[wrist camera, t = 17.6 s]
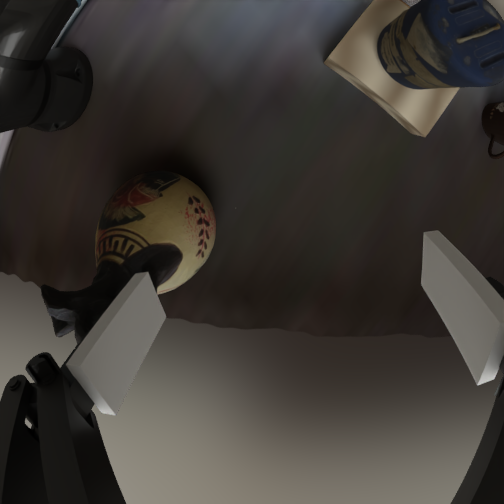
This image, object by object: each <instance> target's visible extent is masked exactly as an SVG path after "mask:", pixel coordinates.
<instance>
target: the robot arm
mask: <svg viewBox="0 0 504 504" xmlns="http://www.w3.org/2000/svg"><path fill="white" fill-rule="evenodd" d="M81 1H82V0H0V133H2V132H5V131H9V130H13V129H17V128H22V127H26V126H27V127H31V128H34V129H38V130H41V131H46V132H52V131H57V130H62V129H65V128H67V127H69V126H70V125H72V124H73V123H74V122H75V121H76V120H77V119H78V118H79V117H80V116H81V114H82V113H83V111H84V110H85V108H86V106H87V103H88V101H89V98H90V95H91V90H92V70H91V66H90V63H89V61H88V59H87V57H86V56H85V55H84V54H83V53H82V52H81V51H79V50H77V49H74V48H69V47H57V48H53V49H51V47H52V46H53V44H54V42H55V41H56V39H57V37H58V36H59V34H60V32H61V31H62V29H63V28H64V26H65V25H66V23H67V21H68V20H69V18H70V17H71V15H72V14H73V13H74V11H75V10H76V8H79V6H80V5H81ZM421 285H422V287H423V288H424V290H425V292H426V293H427V295H428V296H429V298H430V300H431V301H432V303H433V305H434V306H435V308H436V310H437V311H438V313H439V315H440V316H441V318H442V320H443V321H444V323H445V325H446V327H447V328H448V330H449V332H450V334H451V335H452V337H453V339H454V341H455V343H456V345H457V346H458V348H459V350H460V352H461V354H462V356H463V358H464V360H465V361H466V364H467V365H468V367H469V369H470V371H471V373H472V375H473V378H474V380H475V382H476V384H477V385H480V384H482V383H485V382H488V381H490V380H493V379H494V378H495V376H496V374H497V371H498V369H499V367H500V369H501V371H502V373H503V374H504V286H503V285H502V284H501V283H500V282H498V281H497V280H495V279H493V278H491V277H487V278H484V277H483V276H482V275H481V273H480V272H479V271H478V270H477V269H476V268H475V267H474V266H473V265H472V264H471V263H470V262H469V261H468V260H467V259H466V258H465V257H464V256H463V255H462V254H461V253H460V252H459V251H458V249H456V248H455V247H454V246H453V245H452V244H451V243H450V242H449V241H448V240H447V239H446V238H445V237H444V236H443V235H442V234H441V233H440V232H439V231H438V230H437V231H431V232H424V240H423V264H422V279H421ZM165 318H166V315H165V313H164V310H163V308H162V306H161V303H160V301H159V298H158V296H157V293H156V291H155V288H154V286H153V283H152V281H151V278H150V276H149V273H148V272H144V273H136V274H135V275H134V276H133V277H132V278H131V280H130V281H129V282H128V283H127V285H126V286H125V287H124V288H123V289H122V291H121V292H120V293H119V294H118V296H117V297H116V298H115V299H114V301H113V302H112V303H111V305H110V306H109V307H108V308H107V310H106V311H105V312H104V314H103V315H102V316H101V317H100V319H99V320H98V321H97V323H96V324H95V325H94V327H93V328H92V329H91V330H89V331H88V332H87V333H86V334H85V335H84V336H83V338H82V339H81V340H80V343H78V344H77V346H76V347H75V349H74V350H73V351H72V353H71V354H70V355H69V357H68V358H67V360H66V361H65V362H64V364H63V365H62V367H61V368H59V366H58V365H57V363H56V362H55V360H54V359H53V357H52V356H51V354H49V353H47V352H45V353H44V352H43V353H41V354H38V355H36V356H35V357H33V358H32V359H31V360H30V361H29V363H28V364H27V366H26V371H27V372H28V374H29V375H30V376H31V377H32V379H33V380H34V382H35V383H30V382H29V381H28V380H27V378H26V377H25V376H24V375H17V376H14V377H13V378H11V379H10V380H9V382H8V383H7V385H6V386H5V389H4V392H3V395H2V398H1V401H0V504H126V502H125V500H124V497H123V495H122V492H121V490H120V488H119V485H118V483H117V480H116V477H115V475H114V472H113V469H112V467H111V464H110V461H109V458H108V455H107V452H106V449H105V446H104V443H103V440H102V437H101V434H100V430H99V427H98V423H97V420H96V416H95V414H94V412H93V411H92V410H91V409H92V407H93V405H94V404H95V405H96V406H97V408H98V409H99V410H100V411H101V413H105V414H111V415H117V413H118V411H119V409H120V407H121V404H122V402H123V400H124V398H125V396H126V394H127V392H128V390H129V388H130V386H131V384H132V382H133V380H134V378H135V376H136V374H137V372H138V370H139V368H140V366H141V364H142V362H143V360H144V358H145V356H146V354H147V353H148V351H149V349H150V347H151V345H152V343H153V341H154V339H155V337H156V335H157V333H158V331H159V329H160V327H161V325H162V324H163V322H164V320H165ZM494 395H497V396H496V399H495V402H494V406H493V409H492V412H491V415H490V418H489V421H488V423H487V426H486V429H485V432H484V434H483V437H482V440H481V442H480V445H479V447H478V449H477V452H476V454H475V456H474V459H473V461H472V463H471V465H470V467H469V469H468V471H467V474H466V476H465V478H464V480H463V482H462V484H461V486H460V488H459V490H458V491H457V493H456V495H455V497H454V499H453V500H452V502H451V504H504V375H503V377H502V379H501V382H500V384H499V386H498V388H497V390H496V392H495V394H494ZM25 418H27V420H28V421H29V422H30V423H31V424H32V427H31V429H30V428H28V426H27V425H26V424H25Z"/></svg>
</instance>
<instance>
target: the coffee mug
mask: <svg viewBox="0 0 504 504" xmlns="http://www.w3.org/2000/svg"><path fill="white" fill-rule="evenodd" d="M482 126H483V129H484V131H485V133H486V135H487V136H488V137H489V138H490V139H491V141H490V144H489V148H488V153H489V155H490V157H491V158H492V159H499V158H501V157H503V156H504V151H503V152H502V153H500V154H497V155H493V154H492V147H493V143H494V141H496V142H498V143H500V144H502V145H504V102H499V103H491V104H488V105H487V106H486V107H485V108H484V110H483V113H482Z"/></svg>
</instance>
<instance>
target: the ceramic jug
mask: <svg viewBox="0 0 504 504" xmlns="http://www.w3.org/2000/svg"><path fill="white" fill-rule="evenodd" d="M215 233H216V220H215V215H214V211H213V208H212V205H211V202H210V201H209V199H208V197H207V196H206V194H205V193H204V192H203V191H202V190H201V189H200V187H199V186H197V185H196V184H194V183H193V182H192V181H190V180H189V179H187V178H185V177H183V176H182V175H179V174H176V173H173V172H168V171H151V172H146V173H143V174H139V175H137V176H134V177H133V178H131V179H129V180H128V181H126V182H125V183H124V184H123V185H122V186H121V187H119V188H118V189H117V191H116V192H115V193H114V194H113V196H112V197H111V198H110V200H109V201H108V202H107V204H106V206H105V208H104V209H103V211H102V214H101V216H100V219H99V223H98V227H97V232H96V246H95V254H96V264H97V269H96V270H97V275H96V276H95V277H94V280H93V282H92V285H91V286H89V287H87V288H85V289H82V290H79V291H59V290H56V289H54V288H52V287H50V286H47V285H42V286H40V287H41V292H42V297H43V299H44V303H45V305H46V307H47V311H48V313H49V315H50V316H51V318H52V322H53V327H54V331H55V335H56V337H62V336H63V335H65V334H67V333H69V332H71V331H73V330H75V338H76V341H77V344H78V343H80V340H81V339H82V338H83V336H84V335H85V334H86V333H87V332H88V331H89V330H91V329H92V328H93V327H94V325H95V324H96V323H97V321H98V320H99V319H100V317H101V316H102V315H103V314H104V312H105V311H106V310H107V308H108V307H109V306H110V305H111V303H112V302H113V301H114V299H115V298H116V297H117V296H118V294H119V293H120V292H121V291H122V289H123V288H124V287H125V286H126V285H127V283H128V282H129V281H130V280H131V278H132V277H133V276H134V275H135V274H136V273H144V272H148V273H149V276H150V278H151V281H152V283H153V286H154V288H155V291H156V293H157V294H161V293H165V292H168V291H170V290H173V289H176V288H177V287H179V286H180V285H182V284H183V283H185V282H186V281H187V280H189V279H190V278H191V277H192V276H193V275H194V274H195V273H196V272H197V271H198V270H199V269H200V268H201V267H202V265H203V264H204V263H205V262H206V261H207V258H208V256H209V255H210V252H211V250H212V248H213V245H214V241H215Z"/></svg>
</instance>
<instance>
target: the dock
mask: <svg viewBox="0 0 504 504" xmlns="http://www.w3.org/2000/svg"><path fill="white" fill-rule="evenodd" d="M409 8H410V7H409V6H408V5H407V4H406V3H404V2H403V1H402V0H373V1H372V3H371V4H370V5H369V6H368V7H367V9H366V10H365V11H364V12H363V14H362V15H361V16H360V17H359V19H358V20H357V21H356V22H355V23H354V25H353V26H352V27H351V29H350V30H349V31H348V32H347V34H346V35H345V36H344V37H343V39H342V40H341V41H340V42H339V44H338V45H337V46H336V48H335V49H334V50H333V51H332V53H331V54H330V55H329V57H328V58H327V59H326V61H325V62H324V64H325V65H326V66H328V67H329V68H331V69H332V70H334V71H335V72H336V73H338V74H339V75H341V76H342V77H343V78H345V79H346V80H348V81H349V82H350V83H352V84H353V85H354V86H356V87H357V88H358V89H359V90H361V91H362V92H363V93H365V94H366V95H367V96H368V97H370V98H371V99H372V100H373V101H375V102H376V103H377V104H378V105H379V106H381V107H382V108H383V109H384V110H385V111H387V112H388V113H389V114H390V115H391V116H392V117H393V118H395V119H396V120H397V121H398V122H399V123H400V124H401V125H402V126H404V127H405V128H406V129H407V130H408V131H409V132H410V133H411V134H415V135H419V136H423V137H426V135H427V134H428V133H429V131H430V130H431V128H432V127H433V126H434V124H435V123H436V121H437V120H438V119H439V117H440V116H441V114H442V113H443V111H444V110H445V109H446V107H447V106H448V104H449V103H450V101H451V100H452V98H453V97H454V95H455V94H456V92H457V91H458V89H459V88H460V87H457V88H437V89H423V90H418V89H411V88H408V87H405V86H403V85H401V84H399V83H398V82H396V81H395V80H394V79H393V78H391V77H390V76H389V75H388V73H387V72H386V71H385V69H384V68H383V66H382V64H381V62H380V60H379V57H378V53H377V41H378V37H379V35H380V33H381V31H382V30H383V29H384V28H385V27H386V26H387V25H388V24H389V23H390V22H392V21H393V20H394V19H395V18H397V17H398V16H399V15H400V14H401V13H402V12H403V11H404V10H407V9H409Z"/></svg>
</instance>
